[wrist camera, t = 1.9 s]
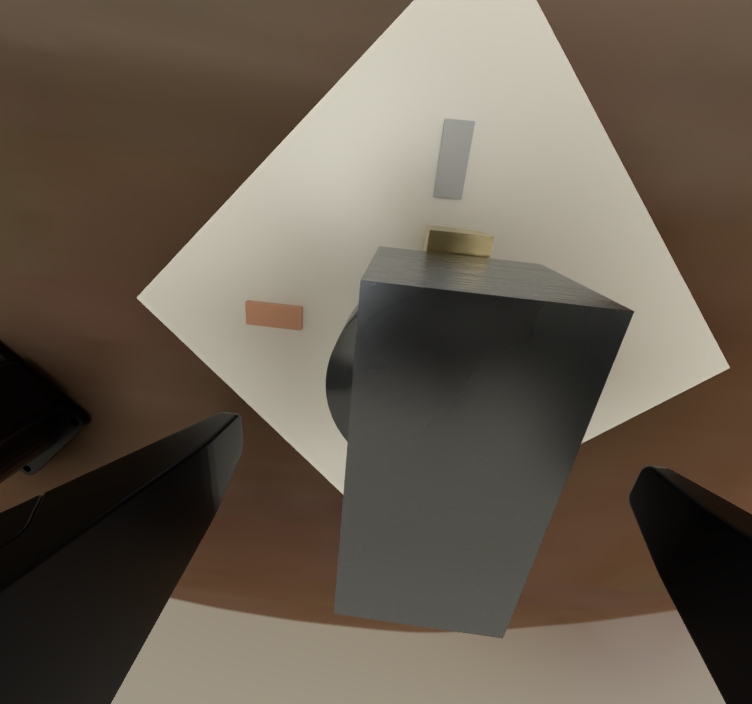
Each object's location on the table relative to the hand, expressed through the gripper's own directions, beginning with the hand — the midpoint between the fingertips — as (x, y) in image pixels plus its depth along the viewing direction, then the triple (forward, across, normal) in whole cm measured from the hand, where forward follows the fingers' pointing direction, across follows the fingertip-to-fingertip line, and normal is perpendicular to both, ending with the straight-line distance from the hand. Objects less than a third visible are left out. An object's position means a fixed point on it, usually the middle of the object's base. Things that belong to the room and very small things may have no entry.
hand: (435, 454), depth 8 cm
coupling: (+5, 0, 0) cm, 5 cm away
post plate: (+9, 0, 0) cm, 9 cm away
